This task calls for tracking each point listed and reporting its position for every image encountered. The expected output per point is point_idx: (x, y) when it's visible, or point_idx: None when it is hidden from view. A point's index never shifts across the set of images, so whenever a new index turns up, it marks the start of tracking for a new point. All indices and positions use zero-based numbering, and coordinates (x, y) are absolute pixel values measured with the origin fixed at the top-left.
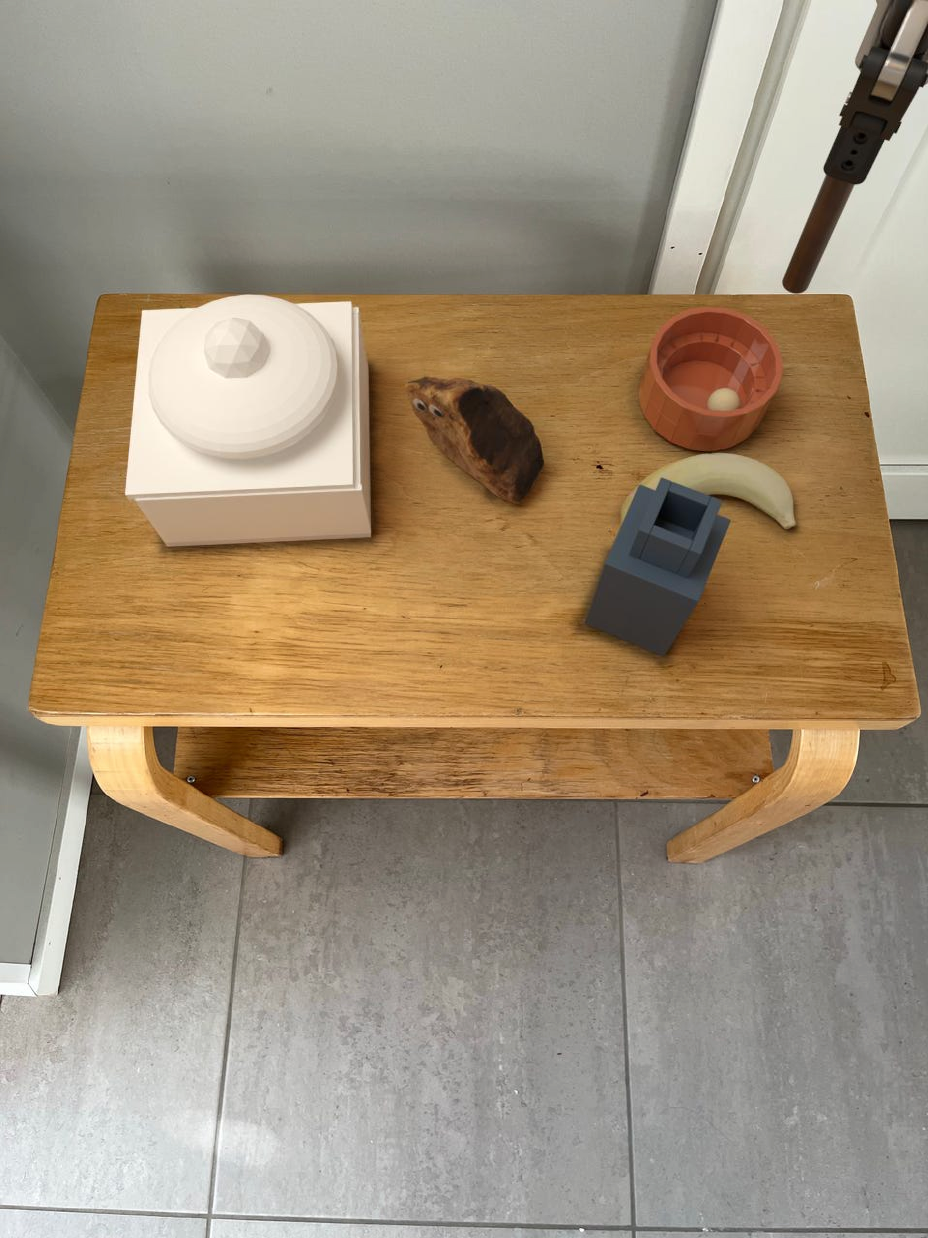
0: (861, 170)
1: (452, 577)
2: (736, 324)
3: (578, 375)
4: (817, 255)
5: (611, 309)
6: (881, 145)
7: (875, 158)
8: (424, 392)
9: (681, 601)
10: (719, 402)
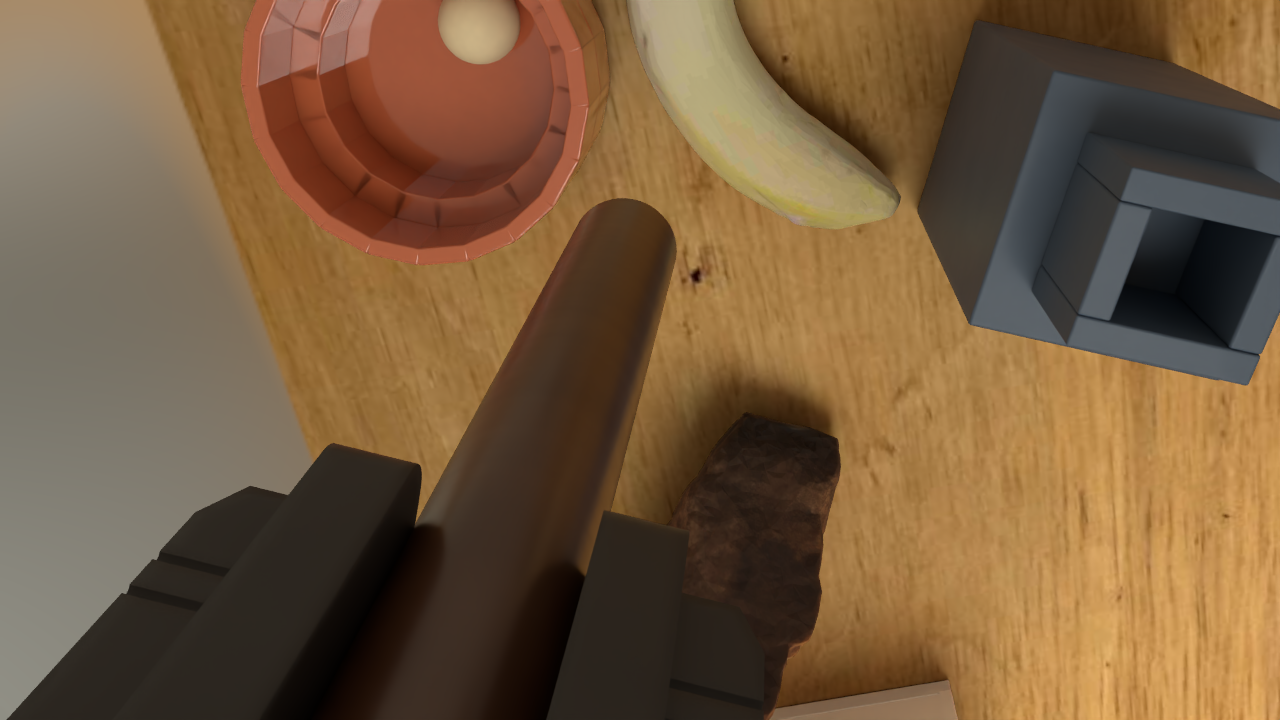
0: (763, 682)
1: (1019, 526)
2: (271, 46)
3: (468, 353)
4: (649, 296)
5: (268, 307)
6: (661, 716)
7: (672, 638)
8: None
9: None
10: (493, 43)
